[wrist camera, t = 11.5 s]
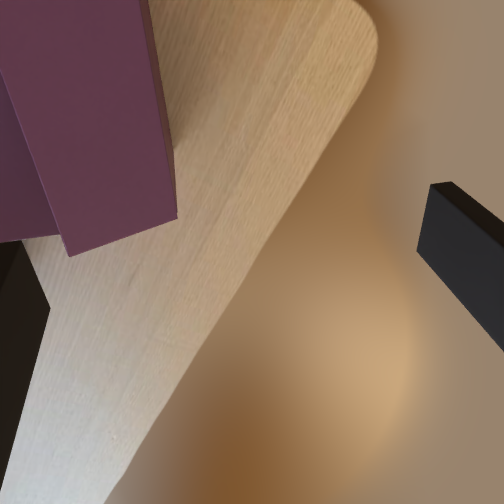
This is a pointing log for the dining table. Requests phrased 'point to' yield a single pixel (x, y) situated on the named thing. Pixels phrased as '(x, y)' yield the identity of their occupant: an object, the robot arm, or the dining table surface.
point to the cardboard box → (24, 171)
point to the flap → (88, 115)
